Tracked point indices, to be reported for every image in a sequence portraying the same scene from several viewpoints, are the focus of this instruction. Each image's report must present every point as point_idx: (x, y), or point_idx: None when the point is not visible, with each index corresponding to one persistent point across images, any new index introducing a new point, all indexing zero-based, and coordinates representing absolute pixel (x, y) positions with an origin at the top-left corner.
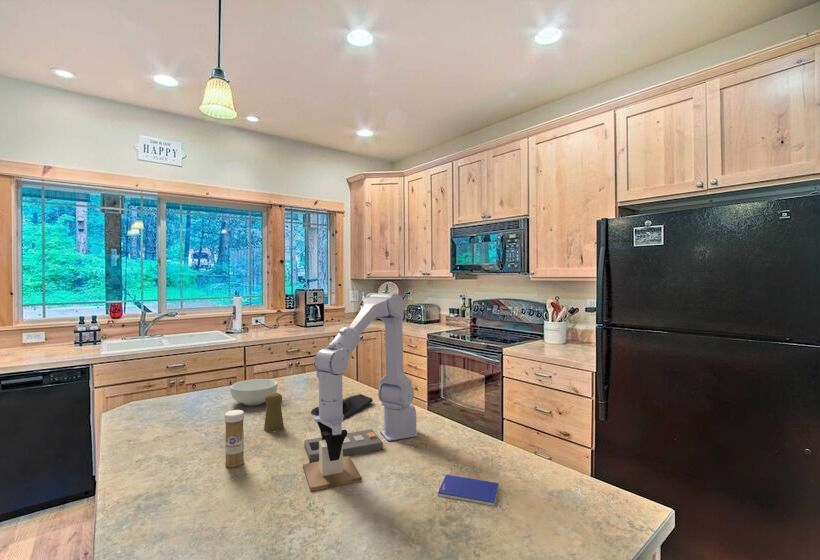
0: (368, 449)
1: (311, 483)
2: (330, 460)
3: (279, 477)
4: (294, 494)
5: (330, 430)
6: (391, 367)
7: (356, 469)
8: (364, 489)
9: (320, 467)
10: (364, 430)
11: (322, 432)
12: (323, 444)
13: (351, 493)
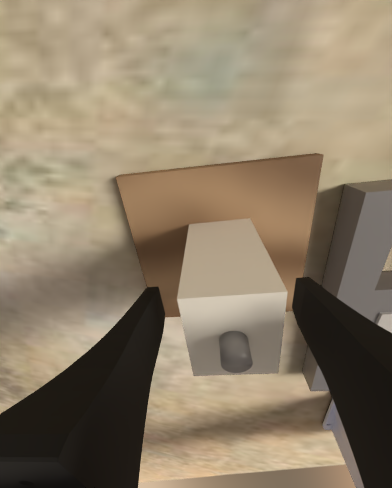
0: (310, 352)
1: (146, 183)
2: (146, 289)
3: (275, 23)
4: (105, 111)
5: (341, 384)
6: None
7: None
8: (114, 309)
9: (225, 227)
10: None
11: (38, 458)
12: (216, 308)
13: (97, 282)
